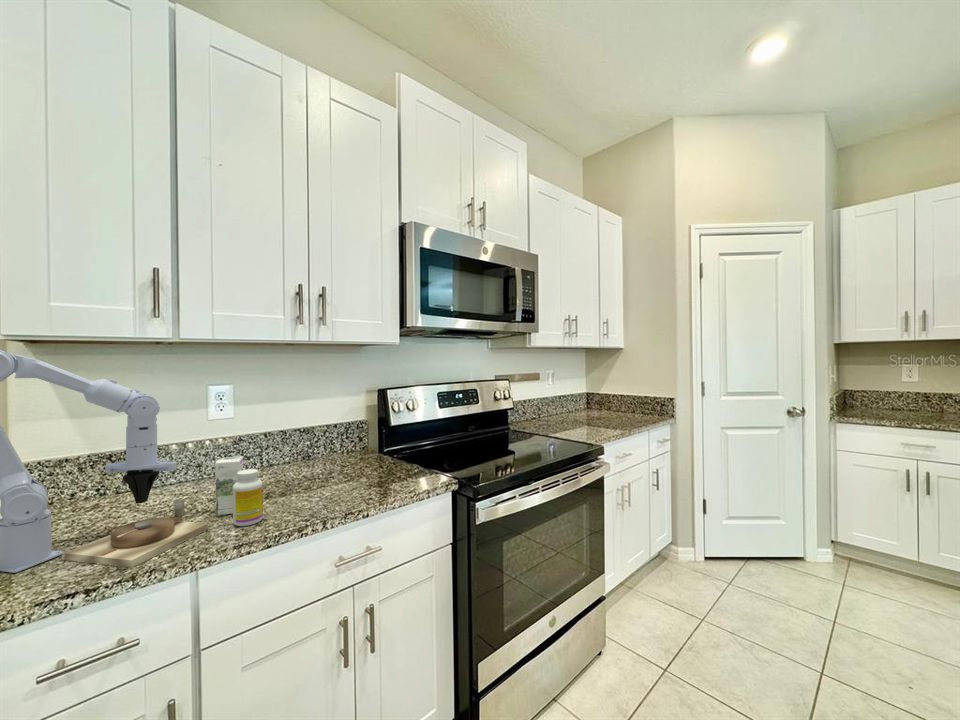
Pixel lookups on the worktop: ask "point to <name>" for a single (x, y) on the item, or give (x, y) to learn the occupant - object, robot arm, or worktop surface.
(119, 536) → the crank dial
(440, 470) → the worktop surface
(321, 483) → the worktop surface
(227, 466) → the syrup box
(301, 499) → the worktop surface
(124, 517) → the worktop surface
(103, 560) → the wooden cutting board
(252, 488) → the supplement bottle
